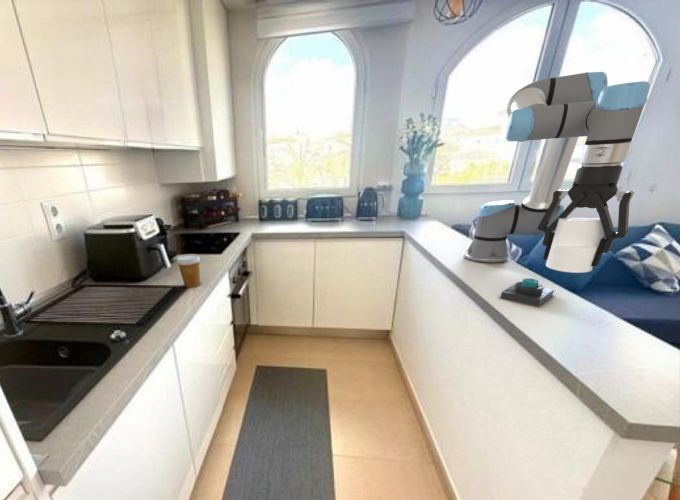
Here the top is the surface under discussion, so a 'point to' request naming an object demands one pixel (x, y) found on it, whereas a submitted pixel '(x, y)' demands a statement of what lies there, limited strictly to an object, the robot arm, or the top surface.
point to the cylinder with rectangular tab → (575, 244)
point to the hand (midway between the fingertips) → (569, 261)
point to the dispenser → (527, 294)
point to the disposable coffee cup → (189, 269)
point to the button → (530, 283)
